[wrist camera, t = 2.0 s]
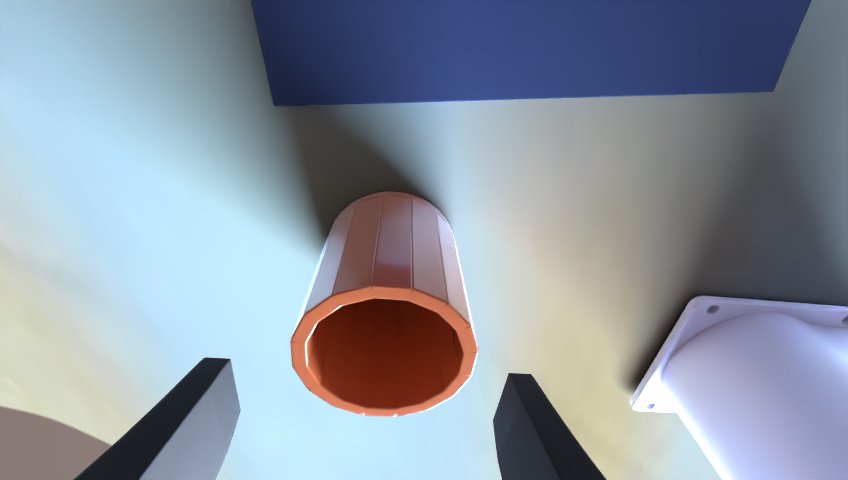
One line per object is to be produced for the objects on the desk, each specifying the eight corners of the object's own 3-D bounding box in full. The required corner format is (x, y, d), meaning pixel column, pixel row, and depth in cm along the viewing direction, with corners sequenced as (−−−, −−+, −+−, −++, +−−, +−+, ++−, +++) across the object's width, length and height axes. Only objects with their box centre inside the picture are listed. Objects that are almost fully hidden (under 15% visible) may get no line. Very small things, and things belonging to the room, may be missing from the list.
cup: (465, 197, 15) (494, 293, 10) (445, 301, 18) (460, 420, 13) (328, 184, 15) (284, 278, 9) (329, 293, 17) (295, 413, 12)
